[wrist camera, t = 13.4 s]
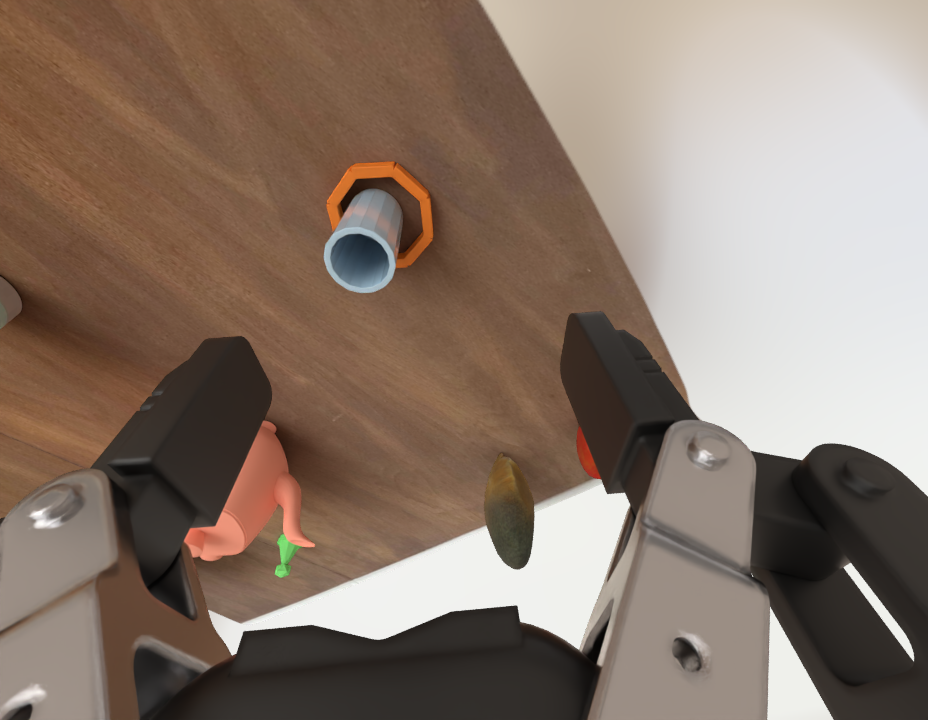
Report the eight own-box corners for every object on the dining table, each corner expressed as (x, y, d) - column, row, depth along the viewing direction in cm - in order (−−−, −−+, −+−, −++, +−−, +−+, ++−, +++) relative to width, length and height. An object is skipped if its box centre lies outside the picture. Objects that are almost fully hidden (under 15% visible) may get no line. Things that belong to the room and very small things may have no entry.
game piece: (304, 533, 61) (293, 571, 57) (306, 545, 64) (296, 583, 59) (276, 532, 61) (263, 571, 56) (280, 545, 63) (268, 583, 59)
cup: (342, 189, 29) (315, 229, 22) (399, 186, 29) (389, 225, 22) (355, 244, 32) (334, 295, 25) (406, 241, 32) (399, 290, 25)
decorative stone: (515, 472, 55) (538, 583, 43) (474, 473, 54) (486, 585, 43) (527, 429, 49) (557, 544, 37) (481, 430, 48) (497, 546, 37)
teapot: (219, 373, 39) (142, 486, 29) (339, 448, 49) (315, 554, 38) (139, 437, 45) (50, 552, 34) (262, 493, 54) (221, 598, 43)
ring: (321, 165, 28) (316, 169, 27) (427, 159, 28) (426, 163, 27) (346, 264, 33) (343, 271, 32) (435, 258, 33) (436, 265, 32)
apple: (566, 410, 47) (585, 459, 41) (615, 401, 47) (641, 449, 41) (568, 441, 51) (585, 489, 45) (612, 432, 50) (636, 480, 45)
